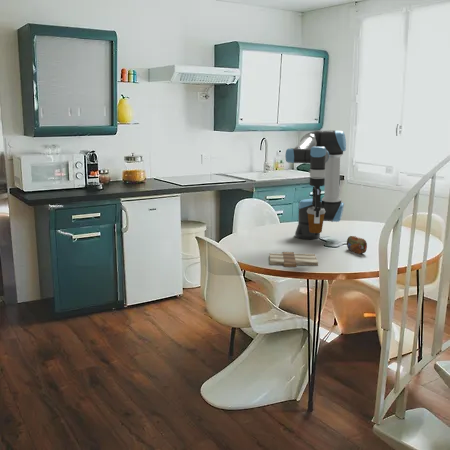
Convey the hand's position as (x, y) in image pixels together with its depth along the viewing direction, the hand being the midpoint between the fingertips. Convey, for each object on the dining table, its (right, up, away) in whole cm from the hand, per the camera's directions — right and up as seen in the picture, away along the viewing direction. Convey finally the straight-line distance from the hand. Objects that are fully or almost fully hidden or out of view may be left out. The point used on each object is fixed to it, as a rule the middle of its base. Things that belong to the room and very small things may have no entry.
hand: (315, 221), depth 278 cm
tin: (+26, -17, +22) cm, 38 cm away
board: (-11, -21, +5) cm, 24 cm away
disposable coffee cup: (0, -6, +1) cm, 6 cm away
